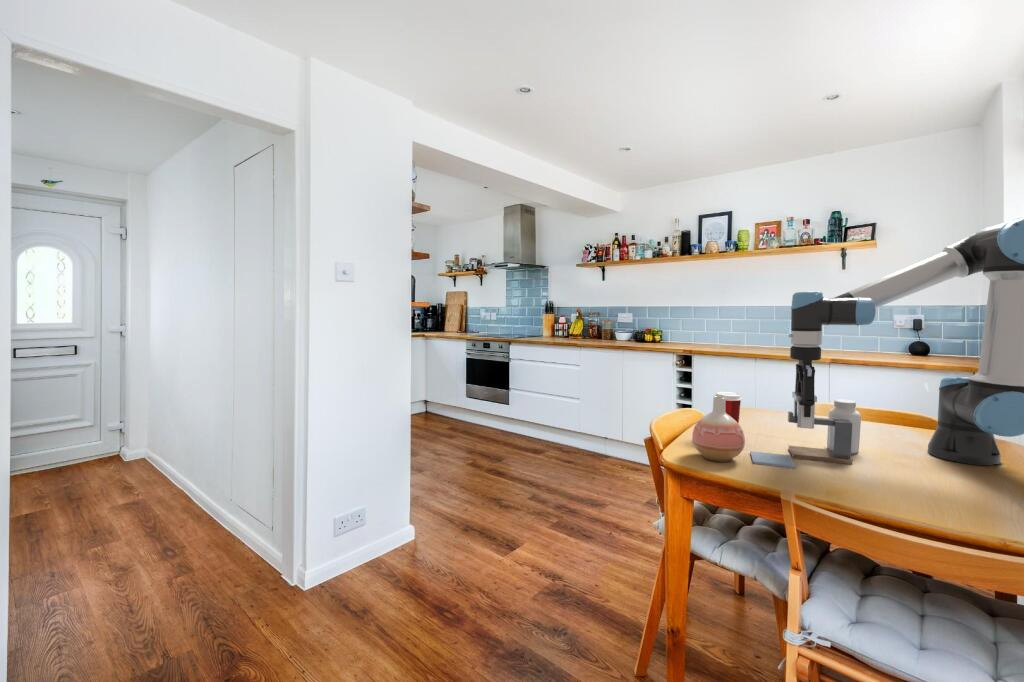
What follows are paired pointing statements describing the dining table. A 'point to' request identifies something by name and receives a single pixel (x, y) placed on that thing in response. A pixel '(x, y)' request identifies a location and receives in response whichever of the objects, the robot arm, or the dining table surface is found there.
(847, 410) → the pill bottle
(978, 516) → the dining table surface
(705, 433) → the vase
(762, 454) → the mat
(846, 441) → the hook stand
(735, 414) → the coffee cup
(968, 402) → the robot arm
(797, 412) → the light grey block
